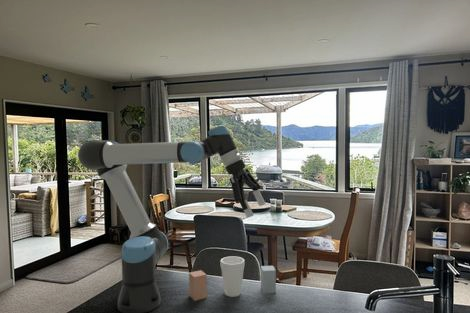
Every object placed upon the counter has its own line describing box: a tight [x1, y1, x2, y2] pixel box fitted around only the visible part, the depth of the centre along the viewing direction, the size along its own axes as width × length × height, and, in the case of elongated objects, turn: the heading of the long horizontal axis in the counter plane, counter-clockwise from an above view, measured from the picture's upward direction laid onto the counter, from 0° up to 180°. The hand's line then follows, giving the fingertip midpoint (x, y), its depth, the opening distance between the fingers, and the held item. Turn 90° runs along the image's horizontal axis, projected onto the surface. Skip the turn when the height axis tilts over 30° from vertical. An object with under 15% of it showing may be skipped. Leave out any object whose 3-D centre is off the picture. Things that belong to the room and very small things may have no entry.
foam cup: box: [219, 255, 246, 298], centre depth 128 cm, size 10×9×13 cm
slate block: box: [260, 265, 277, 294], centre depth 130 cm, size 5×5×9 cm
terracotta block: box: [188, 269, 208, 302], centre depth 125 cm, size 5×5×9 cm
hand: (256, 210), depth 129 cm, fingers open, 13 cm apart
